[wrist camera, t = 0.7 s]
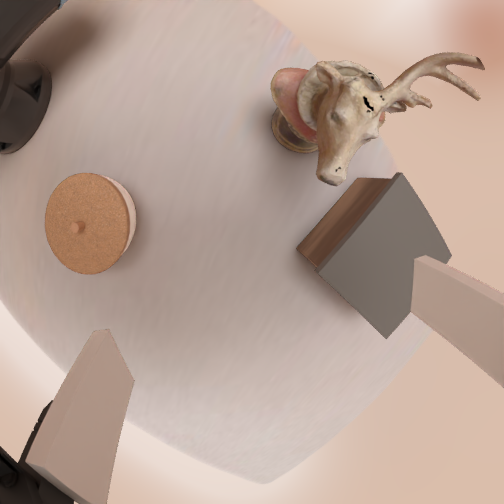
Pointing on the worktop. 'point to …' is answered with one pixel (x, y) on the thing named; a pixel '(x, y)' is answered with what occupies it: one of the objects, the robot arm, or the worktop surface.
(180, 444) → the worktop surface
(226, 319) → the worktop surface
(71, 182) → the lidded jar
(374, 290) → the block
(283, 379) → the worktop surface
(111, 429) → the robot arm
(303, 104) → the decorative bust
